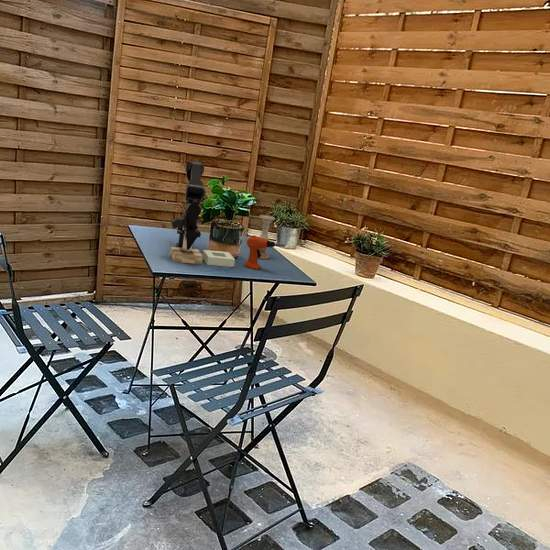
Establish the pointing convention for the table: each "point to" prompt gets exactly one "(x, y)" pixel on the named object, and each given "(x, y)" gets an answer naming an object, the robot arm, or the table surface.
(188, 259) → the socket block
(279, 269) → the table surface
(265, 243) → the toy drill
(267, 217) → the candle holder
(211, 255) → the square block with hole
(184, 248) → the silver flared cylinder
